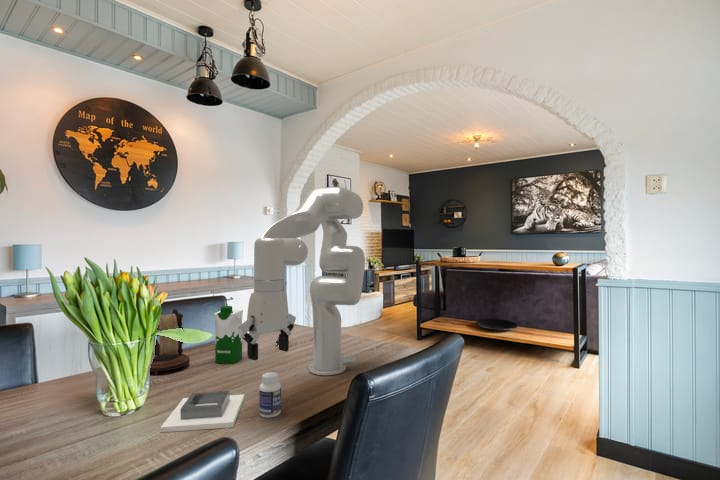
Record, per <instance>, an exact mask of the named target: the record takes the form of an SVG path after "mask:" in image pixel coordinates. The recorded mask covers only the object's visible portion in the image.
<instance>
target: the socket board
mask: <svg viewBox="0 0 720 480" xmlns="http://www.w3.org/2000/svg"><path fill="white" fill-rule="evenodd" d="M188 398H189V397H183V398H182V399H181V401H180V402H179V403H178V404H177V405H176V406H175V408H174V410H173V411H172V412H171V413H170V415H169V416H168V417H167V418H166V419H165V420H164V422H163V423H162V425H161V426H160V433H170V432H171V433H173V432H174V433H175V432H185V431H200V430H202V431H203V430H211V429H213V430H214V429H225V428H226V429H227V428H228V429H229V428H234V426H235V423H236V421H237V418H238V416H239V414H240V411H241V409H242V406H243V403H244V401H245V394H243V393H242V394H230V400H229V402H228V404H227V407H226V409H225V411H224V413H223V415H222V417H208V418H194V419H181V408H182V406H183V405H184V404H185V402H186V401H187V400H188ZM217 404H218V403H206V404H196V405H195V406H201V405H217Z"/></svg>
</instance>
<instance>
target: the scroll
mask: <svg viewBox="0 0 720 480" xmlns="http://www.w3.org/2000/svg"><path fill="white" fill-rule="evenodd" d="M160 316H161V317H160V322H159V325H158V328H157V330H156V331H158V332H159V331H162V330H168V329H176V328H182V329H183V330H184V327H183V322H182V321H183V318H184V315H183V313H179V311H178V309H177V308H174V309H173V310H172V312H171V313H170V314H163V315H162V314H161V315H160ZM158 336H159V341H158V339H157V338H155V339H156V345H155V354H154V356H155V357H154V359H153V362H152V364H151V368H150V371H149V372H154V375H155V376H157V375H159V372H164V371H166V372H167V371H171V370H175V369H179V368H181V367H184V368H188V365H189V363H190V361H191V360H190V356H188V355H187V354H184V353H183V352H184V350H183V344H184V341H183V342H180V341H176V340H173V339H171V338H169V337H165V336H160V335H157V336H156V337H158Z"/></svg>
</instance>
